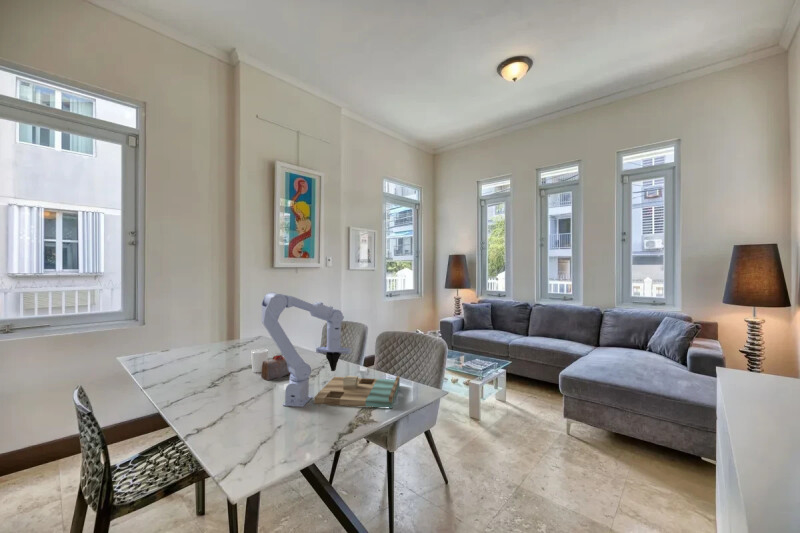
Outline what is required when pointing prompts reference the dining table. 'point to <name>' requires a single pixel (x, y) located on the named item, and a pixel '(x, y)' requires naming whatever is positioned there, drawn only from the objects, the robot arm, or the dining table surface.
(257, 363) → the white cup
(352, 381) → the block
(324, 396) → the track
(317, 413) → the dining table surface
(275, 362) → the food item
